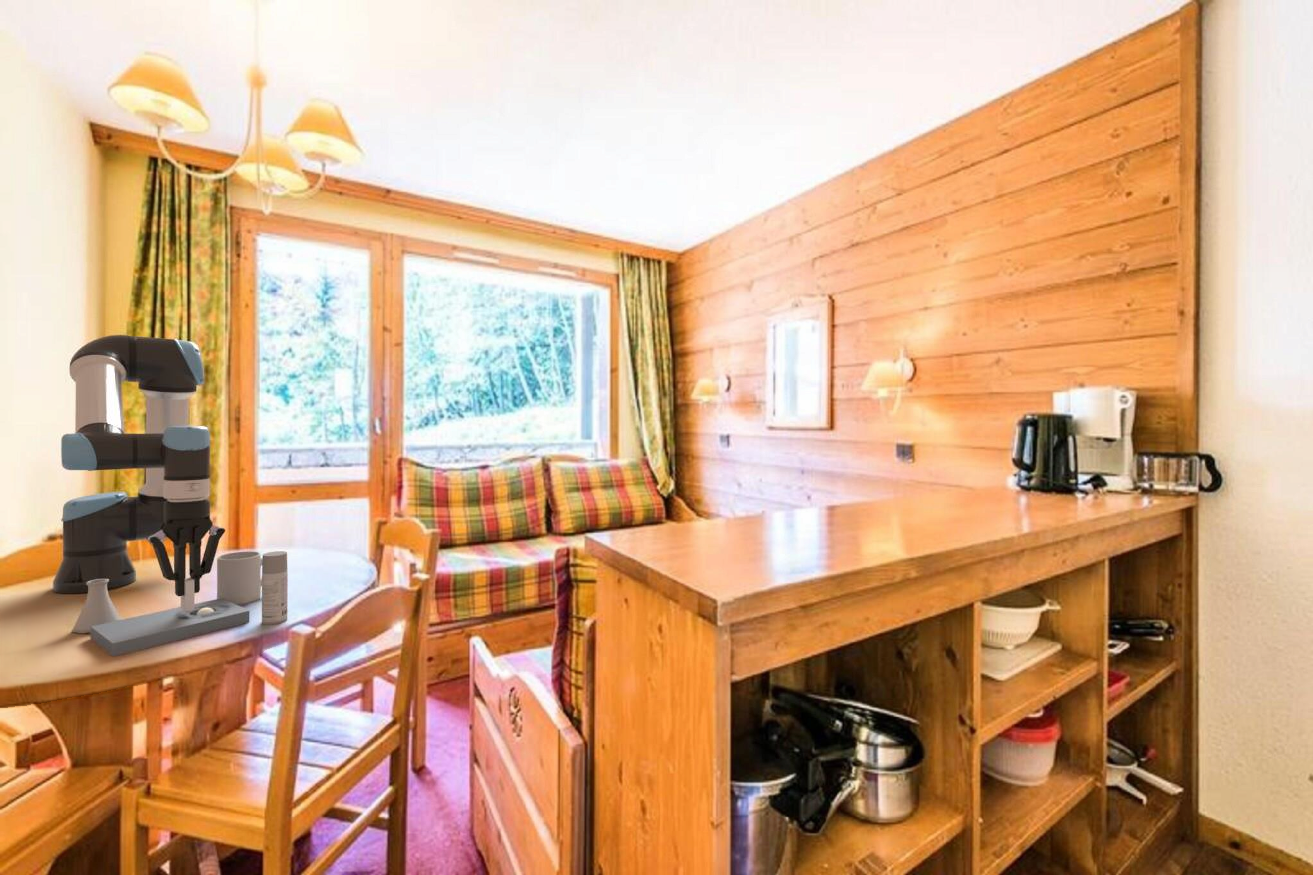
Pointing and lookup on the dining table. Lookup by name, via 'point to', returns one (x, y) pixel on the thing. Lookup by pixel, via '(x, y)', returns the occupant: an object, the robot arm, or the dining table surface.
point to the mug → (239, 577)
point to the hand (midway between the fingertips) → (187, 609)
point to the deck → (166, 626)
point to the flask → (96, 607)
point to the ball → (205, 611)
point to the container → (274, 587)
